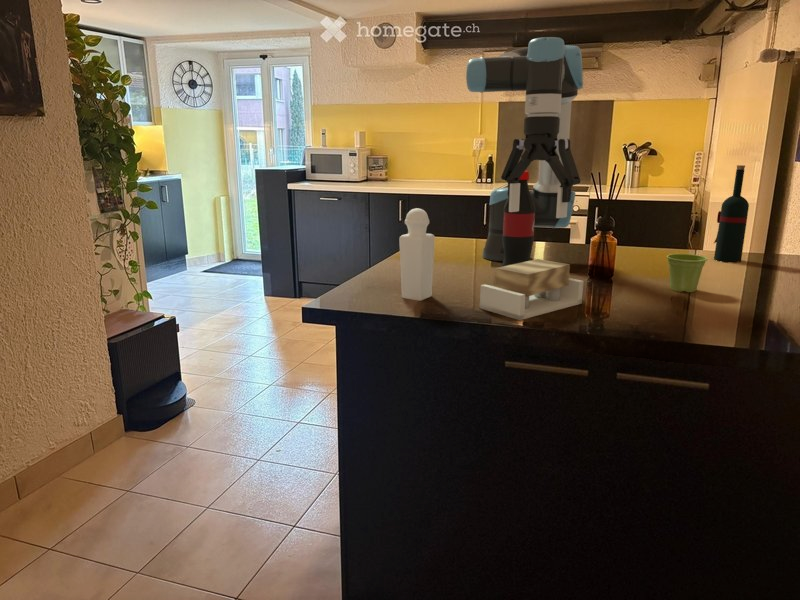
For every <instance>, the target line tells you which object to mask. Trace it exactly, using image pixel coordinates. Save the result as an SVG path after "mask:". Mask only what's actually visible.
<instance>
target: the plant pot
mask: <svg viewBox="0 0 800 600" xmlns="http://www.w3.org/2000/svg"><path fill="white" fill-rule="evenodd" d="M666 258H667V262H668V265H669V266H668V267H669V287H670V290H672V291H675V292H678V293H679V292H680V293H681V292H686V293H694V292H696V291H697V289H698V285H699V283H700V282H699V281H700V278H701V275H702V271H703V267H704V266H705V265H706V262H707V260H708V257H706V256H703V255H699V254H693V253H692V254H691V253H690V254H689V253H671V254H668V255H666Z"/></svg>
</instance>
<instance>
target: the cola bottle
mask: <svg viewBox="0 0 800 600" xmlns="http://www.w3.org/2000/svg"><path fill="white" fill-rule="evenodd" d="M529 180H530V172H529V171H528V170H525V171H524V173H523V174H522V176H521V177H520V178H519V180H518V181H519V182H518V183H520V200H519V211H517V212H509V197H508V199H507V201H506V203H505V206H504V223H503V236H502V239H503V248H504V261H502V264H501V266H500V267H503V266H508V265H512V264H517V263H522V262H526V261H531V255H532V251H533V246H534V241H535V235H534V234H535V227H534V221H535V211H536V208H535V204H534V201H533V198H532V196H531V193H530V191H531V190H530V188H529V184H528V183H529V182H528V181H529Z"/></svg>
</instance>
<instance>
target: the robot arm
mask: <svg viewBox="0 0 800 600" xmlns="http://www.w3.org/2000/svg"><path fill="white" fill-rule="evenodd" d="M465 75H466V77H465V78H466V86H467V89H468V91H469V92H470V93H491V92H492V93H495V92H525V100H524V101H525V102H524V114H525V115H527V116H526V117H525V118H524V121H523V134H524V135H525V138H524V139H523V138H515V139H513V141H512V149H511V152H510V155H509V156H508V159H507V162H506V164H505V167H504V169H503V171H502V173H501V175H500V176H501V177H500V178H501V180H502V181H505V182H507V187H501V188H500V187H499V188H496V189H493V190H492V191H491V193H490V197H489V204H488V205H489V213H488V214H489V217H488V218H489V220H488V235H487V238H486V241H485V244H484V248H483V249H482V258H484V259H486V260H491V261H496V262H497V261H498V262H503V261H504V248H503V239H502V236H503V223H504V206H505V203H506V201H507V199H508V197H509V212H517V211H519V200H520V183H518V182H519V181H518V180H519V178H520V177H521V176H522V174H523V173H524V171H527V169H528V168H529V166H530V164H531V163H532V162H533V161H538V180H537V181H536V182H535V183H534V184H533V187H532V188H533V189H532V190H529V191H530V193H531V196H532V198H533V201H534V204H535V208H536V211H535V221H534V228H548V229H551V228H552V229H559V228H567V227H568V226H569V225H570V222H571V219H572V214H573V210H574V203H575V198H576V192H575V191H574V190H572V188H573V187H574V186H577V185H580V184H581V178H580V175H579V171H578V169H577V166H576V163H575V160H574V157H573V154H572V150H571V140H570V130H571V117H572V116H571V115H572V102H573V101H574V100H575V98H577V96H578V94H579V93H578V92H579V90H581V89H583V88H584V72H583V56H582V50H581V48H580V47H579V46H577V45H569V44H567V45H565V41H564V39H563V38H561V37H557V36H556V37H555V36H549V37H548V36H546V37H545V36H544V37H536V38H533V39H531V40H530V41H529V42H528V46H527V47H521V48H518V49H515V50H514V49H513V50H511V51H510V50H509V51H506V52H502V53H501V54H499V55H498V56H493V57H484V56H483V57H482V56H481V57H478V58H476V57H475V58H471V59H469V60H468V61H467V65H466V74H465ZM524 149H525V150H524Z"/></svg>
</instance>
